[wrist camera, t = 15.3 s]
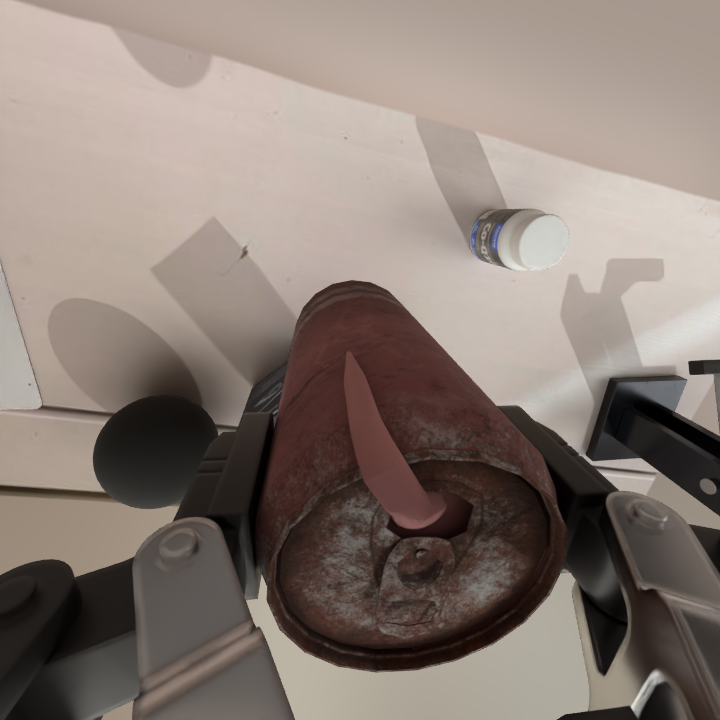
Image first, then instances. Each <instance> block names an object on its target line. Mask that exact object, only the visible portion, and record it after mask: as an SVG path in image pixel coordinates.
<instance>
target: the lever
mask: <svg viewBox="0 0 720 720" xmlns="http://www.w3.org/2000/svg"><path fill="white" fill-rule="evenodd" d="M688 364H689V374H690V375H702V374H714V382H715V392H716V401H717V411H718V421H719V431H720V360H699V361H689V362H688Z"/></svg>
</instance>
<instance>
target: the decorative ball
mask: <svg viewBox="0 0 720 720" xmlns="http://www.w3.org/2000/svg"><path fill="white" fill-rule="evenodd" d="M218 436H219V435H218V431H217V428H216V425H215V424H214V422H213V420H212V418H211V417H210V416H209V414H208V413H207V412H206V411H205V410H204V409H203V408H201V407H200V406H199V405H197V404H195V403H194V402H192V401H190V400H187V399H184V398H181V397H176V396H168V395H160V396H152V397H147V398H143V399H140V400H137V401H135V402H133V403H131V404H129V405H127V406H125V407H124V408H122V409H121V410H119V411H118V412H117V413H116V414H115V415H113V416H112V417H111V418H110V419H109V421H108V422H107V423H106V424H105V426H104V427H103V428H102V430H101V432H100V434H99V436H98V438H97V440H96V443H95V447H94V452H93V466H94V471H95V474H96V477H97V480H98V481H99V483H100V485H101V486H102V488H103V489H104V490H105V491H106V492H107V493H108V494H109V495H110V496H111V497H112V498H114V499H115V500H117V501H119V502H121V503H122V504H125V505H128V506H131V507H135V508H141V509H155V508H162V507H167V506H170V505H173V504H176V503H178V502H180V501H182V500H183V499H184V497H185V495H186V492H187V490H188V488H189V486H190V484H191V482H192V480H193V478H194V475H195V474H197V469H198V467H199V465H200V463H201V461H203V456H204V454H205V452H206V450H207V448H208V446H209V444H210V443H211V442H212V441H213V440H215V439H216V438H217V437H218Z"/></svg>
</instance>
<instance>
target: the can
mask: <svg viewBox="0 0 720 720" xmlns="http://www.w3.org/2000/svg"><path fill="white" fill-rule="evenodd" d="M567 532H568V531H567V528H566V526H565V523H564V521H563V518H562V516H561V513H560V511H559V508H558V502H557V495H556V489H555V486H554V483H553V481H552V478H551V476H550V473H549V471H548V468H547V466H546V463H545V461H544V458H543V456H542V454H541V453H540V452H539V451H538V450H537V449H536V448H535V447H534V446H533V444H532V443H531V442H530V441H529V440H528V439H527V438H526V437H525V436H524V435H523V434H522V433H521V432H520V431H519V429H518V428H517V427H516V426H515V425H514V424H513V423H512V422H511V421H510V420H509V419H508V418H507V417H506V416H505V414H504V413H503V412H502V411H501V410H500V409H499V408H498V407H497V406H496V405H495V404H494V403H493V402H492V401H491V399H490V398H489V397H488V396H487V395H486V394H485V393H484V392H483V391H482V390H481V389H480V388H479V387H478V385H477V384H476V383H475V382H474V381H473V380H472V379H471V378H470V377H469V376H468V375H467V374H466V373H465V372H464V370H463V369H462V368H461V367H460V366H459V365H458V364H457V363H456V362H455V361H454V360H453V359H452V358H451V357H450V355H449V354H448V353H447V352H446V351H445V350H444V349H443V348H442V347H441V346H440V345H439V344H438V343H437V342H436V340H435V339H434V338H433V337H432V336H431V335H430V334H429V333H428V332H427V331H426V330H425V329H424V328H423V327H422V325H421V324H420V323H419V322H418V321H417V320H416V319H415V318H414V317H413V316H412V315H411V314H410V313H409V311H408V310H407V309H406V308H405V307H404V306H403V305H402V304H401V303H400V302H399V301H398V300H397V299H396V298H395V297H394V296H393V295H392V294H391V293H390V292H389V291H388V290H386V289H384V288H381V287H379V286H377V285H375V284H373V283H371V282H362V281H354V280H350V281H346V282H341V283H336V284H332V285H330V286H328V287H327V288H325V289H323V290H321V291H320V292H318V293H316V294H315V295H314V296H313V297H312V298H311V300H310V301H309V302H308V303H307V304H306V305H305V306H304V307H303V309H302V311H301V314H300V316H299V319H298V321H297V323H296V326H295V331H294V336H293V341H292V346H291V350H290V355H289V360H288V365H287V370H286V375H285V379H284V384H283V389H282V394H281V399H280V403H279V408H278V413H277V418H276V423H275V428H274V432H273V437H272V442H271V447H270V452H269V457H268V461H267V466H266V471H265V476H264V481H263V485H262V490H261V495H260V500H259V505H258V510H257V514H256V521H255V550H256V561H257V564H258V566H259V568H260V571H261V573H262V575H263V578H264V580H265V583H266V585H267V602H268V604H269V607H270V609H271V611H272V613H273V616H274V618H275V620H276V622H277V625H278V627H279V629H280V631H282V632H283V633H284V634H285V635H286V636H287V637H288V638H289V639H291V640H292V641H293V642H294V643H295V644H296V645H297V646H298V647H299V648H301V649H302V650H303V651H304V652H305V653H308V654H310V655H312V656H315V657H317V658H319V659H322V660H324V661H326V662H329V663H331V664H333V665H336V666H338V667H344V668H351V669H357V670H364V671H370V672H393V671H410V670H411V671H412V670H419V669H423V668H428V667H432V666H436V665H440V664H444V663H449V662H453V661H456V660H459V659H461V658H463V657H465V656H468V655H470V654H472V653H475V652H477V651H479V650H481V649H484V648H486V647H488V646H490V645H493V644H494V643H496V642H497V641H498V640H500V639H501V638H503V637H504V636H506V635H507V634H509V633H510V632H511V631H513V630H514V629H516V628H517V627H519V626H520V625H522V624H523V623H524V622H526V620H527V619H528V618H529V617H530V616H531V615H532V614H533V613H534V612H535V611H536V609H537V608H538V607H539V606H540V605H541V604H542V603H543V602H544V601H545V600H546V599H547V597H548V596H549V595H550V593H551V592H552V589H553V587H554V585H555V583H556V581H557V579H558V577H559V575H560V573H561V571H562V569H563V567H564V565H565V559H566V545H567Z"/></svg>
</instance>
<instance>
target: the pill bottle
mask: <svg viewBox="0 0 720 720" xmlns="http://www.w3.org/2000/svg"><path fill="white" fill-rule="evenodd" d="M568 243H569V230H568V227H567V225H566V223H565V222H564V220H563V219H561V218H560V217H558V216H556V215H552V214H546V213H544V212H542V211H540V210H536V209H501V210H492V211H489V212H487V213H485V214H483V215H482V216H480V217H479V218H478V219H477V221H476V222H475V223H474V225H473V227H472V229H471V232H470V247H471V250H472V252H473V254H474V255H475V256H476V257H477V258H478V259H480V260H481V261H484V262H487V263H490V264H494V265H497V266H502V267H505V268H508V269H511V270H515V271H526V270H536V271H539V270H545V269H548V268H550V267H552V266H553V265H555V264H556V263H557V262H558V261H559V260H560V259H561V258H562V257H563V255H564V253H565V252H566V249H567V247H568Z"/></svg>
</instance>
